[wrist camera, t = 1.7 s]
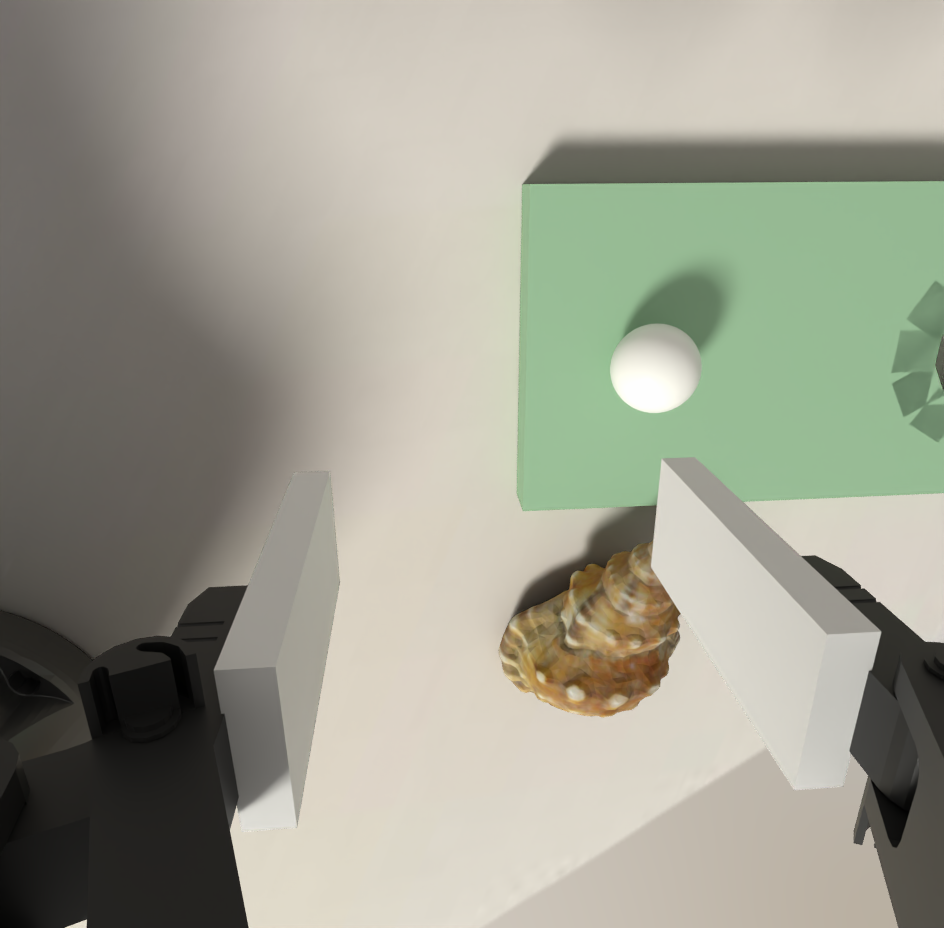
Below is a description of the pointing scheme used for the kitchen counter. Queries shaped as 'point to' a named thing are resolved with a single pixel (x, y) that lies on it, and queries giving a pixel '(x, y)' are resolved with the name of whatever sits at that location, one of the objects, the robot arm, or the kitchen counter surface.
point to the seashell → (596, 638)
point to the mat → (734, 338)
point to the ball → (655, 368)
